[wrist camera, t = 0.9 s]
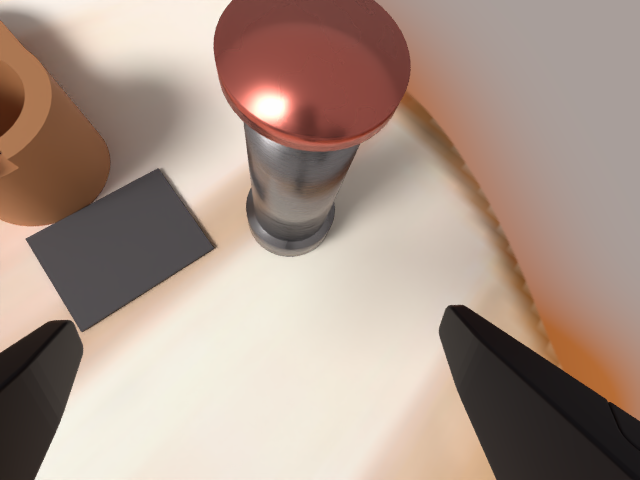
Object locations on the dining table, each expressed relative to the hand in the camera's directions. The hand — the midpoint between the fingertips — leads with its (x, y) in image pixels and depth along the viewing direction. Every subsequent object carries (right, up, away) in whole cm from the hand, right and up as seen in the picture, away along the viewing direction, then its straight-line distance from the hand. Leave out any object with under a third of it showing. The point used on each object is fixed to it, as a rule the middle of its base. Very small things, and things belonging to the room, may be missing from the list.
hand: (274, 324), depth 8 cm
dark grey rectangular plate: (-12, +2, +14) cm, 18 cm away
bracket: (-21, +10, +16) cm, 28 cm away
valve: (-1, +4, +16) cm, 17 cm away
